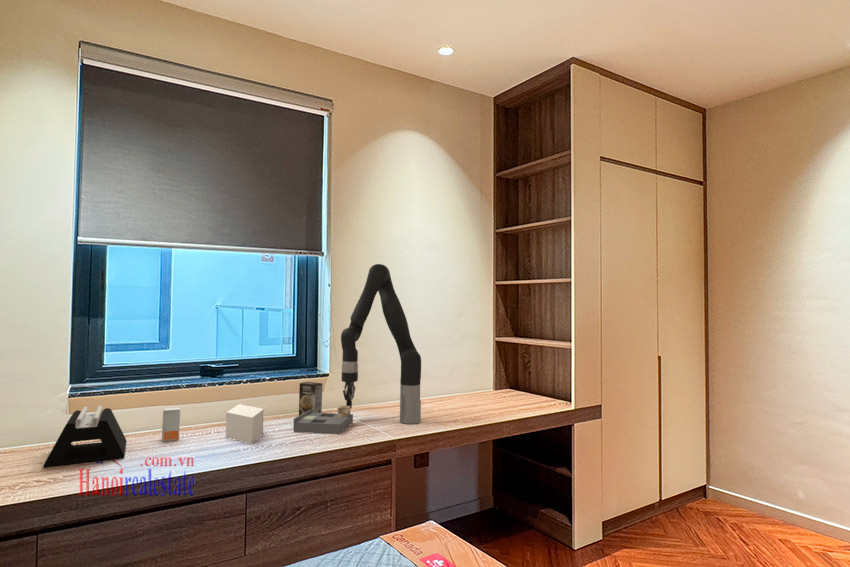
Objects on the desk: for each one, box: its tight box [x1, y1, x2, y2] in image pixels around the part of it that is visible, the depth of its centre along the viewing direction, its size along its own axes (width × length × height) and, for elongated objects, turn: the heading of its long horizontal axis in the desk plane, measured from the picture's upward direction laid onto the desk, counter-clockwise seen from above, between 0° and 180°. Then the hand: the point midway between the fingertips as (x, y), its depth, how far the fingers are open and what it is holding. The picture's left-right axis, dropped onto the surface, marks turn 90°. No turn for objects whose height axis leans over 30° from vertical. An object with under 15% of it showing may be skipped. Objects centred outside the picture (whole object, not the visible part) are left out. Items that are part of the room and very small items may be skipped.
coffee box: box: [298, 381, 323, 416], centre depth 241 cm, size 9×6×16 cm
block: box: [337, 405, 351, 417], centre depth 227 cm, size 4×4×4 cm
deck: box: [292, 409, 354, 435], centre depth 222 cm, size 20×20×6 cm
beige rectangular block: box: [225, 403, 265, 445], centre depth 206 cm, size 14×29×10 cm, turn 29°
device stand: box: [43, 405, 127, 469], centre depth 179 cm, size 22×22×15 cm
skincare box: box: [161, 407, 181, 442], centre depth 199 cm, size 6×4×12 cm
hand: (349, 408), depth 235 cm, fingers closed
